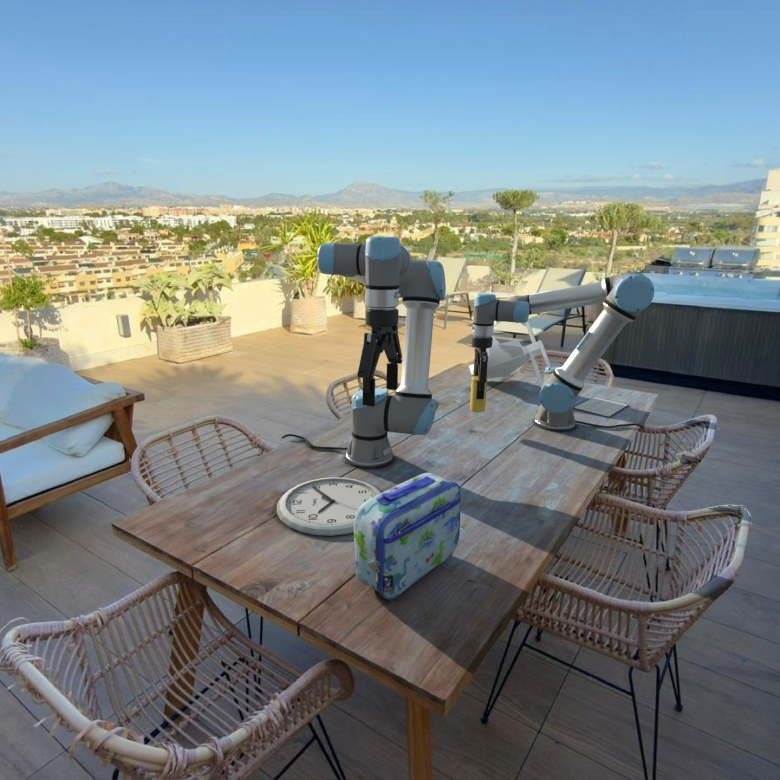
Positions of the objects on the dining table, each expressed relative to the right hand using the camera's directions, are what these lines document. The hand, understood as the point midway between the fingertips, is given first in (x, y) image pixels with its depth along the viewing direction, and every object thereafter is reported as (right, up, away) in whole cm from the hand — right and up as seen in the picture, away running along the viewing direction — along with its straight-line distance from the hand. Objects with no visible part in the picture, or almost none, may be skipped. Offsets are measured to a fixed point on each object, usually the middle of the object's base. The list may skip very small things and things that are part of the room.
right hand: (478, 396), depth 199 cm
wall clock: (-49, -29, -56) cm, 80 cm away
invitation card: (+58, -5, +28) cm, 64 cm away
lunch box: (-30, -38, -83) cm, 96 cm away
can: (0, -5, +2) cm, 6 cm away
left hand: (-36, +1, -74) cm, 83 cm away
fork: (-16, -4, +25) cm, 30 cm away
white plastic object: (+24, +4, +53) cm, 59 cm away
